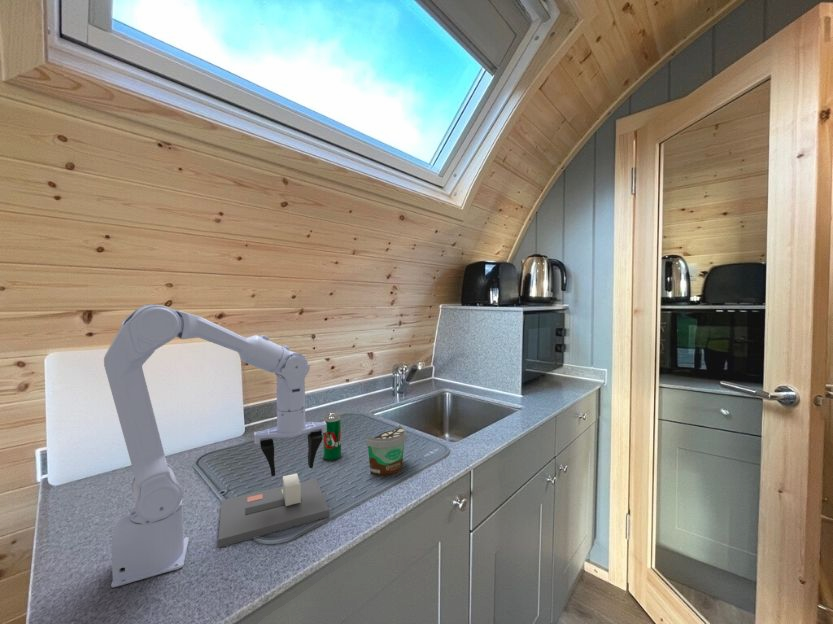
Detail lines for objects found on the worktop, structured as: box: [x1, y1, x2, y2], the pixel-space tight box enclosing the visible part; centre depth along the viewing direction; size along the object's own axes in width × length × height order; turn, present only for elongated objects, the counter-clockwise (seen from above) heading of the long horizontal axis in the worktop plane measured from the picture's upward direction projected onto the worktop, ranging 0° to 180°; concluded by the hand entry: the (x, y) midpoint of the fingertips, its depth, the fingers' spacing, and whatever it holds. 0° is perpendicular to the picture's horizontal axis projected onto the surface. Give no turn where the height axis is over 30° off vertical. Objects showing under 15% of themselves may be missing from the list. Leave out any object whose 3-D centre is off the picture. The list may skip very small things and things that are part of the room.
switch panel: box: [217, 478, 330, 548], centre depth 75 cm, size 20×14×2 cm
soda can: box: [322, 412, 342, 461], centre depth 100 cm, size 5×5×12 cm
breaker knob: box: [282, 472, 301, 506], centre depth 76 cm, size 3×5×4 cm, turn 27°
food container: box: [365, 424, 408, 477], centre depth 92 cm, size 12×6×10 cm, turn 137°
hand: (292, 470), depth 76 cm, fingers open, 7 cm apart
